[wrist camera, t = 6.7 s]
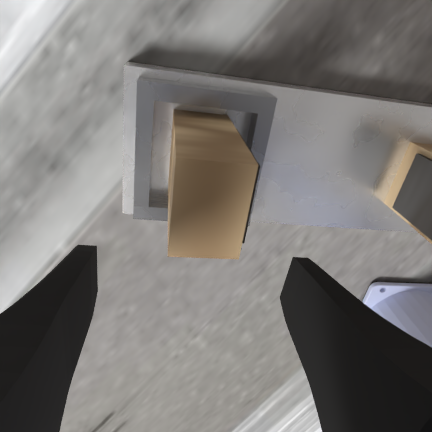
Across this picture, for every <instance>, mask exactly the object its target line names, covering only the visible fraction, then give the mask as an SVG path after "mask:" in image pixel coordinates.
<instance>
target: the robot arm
mask: <svg viewBox="0 0 432 432" xmlns="http://www.w3.org/2000/svg"><path fill="white" fill-rule="evenodd" d="M97 292H98V287H97V246H88V245H77V246H76V247H75V248H74V249H73V250H72V251H71V252H70V253H69V254H68V255H67V256H66V257H65V258H64V259H63V260H62V261H61V262H60V263H59V264H58V265H57V266H56V267H55V268H54V269H53V270H52V271H51V272H50V273H49V274H48V275H47V276H46V277H45V278H44V279H42V280H41V281H40V282H39V283H38V284H37V285H36V286H35V287H34V288H32V289H31V290H30V291H29V292H28V293H26V294H25V295H24V296H23V297H22V298H20V299H19V300H18V301H17V302H15V303H14V304H13V305H12V306H10V307H9V308H8V309H6V310H5V311H4V312H2V313H1V314H0V432H59V430H60V426H61V421H62V417H63V413H64V408H65V404H66V400H67V395H68V391H69V387H70V384H71V380H72V377H73V374H74V371H75V368H76V365H77V362H78V359H79V356H80V353H81V350H82V347H83V344H84V341H85V338H86V335H87V332H88V329H89V326H90V323H91V320H92V316H93V312H94V307H95V302H96V297H97ZM280 300H281V305H282V309H283V313H284V317H285V321H286V324H287V327H288V329H289V332H290V335H291V337H292V340H293V342H294V345H295V347H296V350H297V353H298V355H299V358H300V360H301V363H302V365H303V368H304V370H305V373H306V376H307V378H308V381H309V384H310V387H311V391H312V394H313V398H314V401H315V405H316V409H317V412H318V416H319V420H320V424H321V428H322V432H432V284H418V283H388V282H375V283H372V284H371V285H370V287H369V289H368V291H367V293H366V295H365V297H364V299H363V301H362V302H361V301H360V300H359V299H357V298H356V297H355V296H354V295H352V294H351V293H350V292H349V291H348V290H346V289H345V288H344V287H343V286H341V285H340V284H339V283H338V282H337V281H336V280H334V279H333V278H332V277H331V276H330V275H328V274H327V273H326V272H325V271H324V270H323V269H321V268H320V267H319V266H318V265H316V264H315V263H314V262H313V261H311V260H310V259H309V258H299V257H293V259H292V262H291V265H290V268H289V271H288V274H287V277H286V280H285V283H284V286H283V289H282V292H281V295H280Z"/></svg>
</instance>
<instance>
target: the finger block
mask: <svg viewBox="0 0 432 432" xmlns="http://www.w3.org/2000/svg"><path fill="white" fill-rule="evenodd" d="M259 170H260V165H259V163H258V162H257V160H256V158H255V157H254V155H253V154H252V152H251V150H250V149H249V147H248V146H247V144H246V142H245V141H244V139H243V138H242V136H241V134H240V133H239V131H238V130H237V128H235V126H234V124H233V123H232V121H231V120H230V118H229V116H228V115H222V114H213V113H204V112H196V111H187V110H178V109H173V123H172V137H171V151H170V164H169V178H168V257H193V258H219V259H239V255H240V251H241V246H242V243H244V241H245V236H246V232H247V227H248V222H249V217H250V213H251V208H252V203H253V199H254V194H255V189H256V184H257V180H258V175H259Z"/></svg>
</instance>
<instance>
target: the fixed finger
mask: <svg viewBox="0 0 432 432" xmlns="http://www.w3.org/2000/svg"><path fill="white" fill-rule="evenodd" d="M384 204H386V205H387V206H388V207H389V208H390V209H391V210H393V211H394V212H395V213H396V214H397V215H398V216H400V217H401V218H402V219H403V220H404V221H405V222H407V223H408V224H409V225H410V226H411V227H413V228H414V229H415V230H416V231H417V232H418V233H420V234H421V235H422V236H423V237H424V238H425V239H427V240H428V241H429V242H430V243H431V244H432V144H424V143H415V142H410V143H409V146H408V148H407V150H406V153H405V155H404V157H403V160H402V162H401V164H400V167H399V169H398V171H397V173H396V176H395V178H394V180H393V183H392V185H391V187H390V190H389V192H388V194H387V197H386V199H385V201H384Z"/></svg>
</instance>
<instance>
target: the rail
mask: <svg viewBox="0 0 432 432" xmlns="http://www.w3.org/2000/svg"><path fill="white" fill-rule="evenodd" d="M173 109H178V110H187V111H196V112H204V113H213V114H222V115H228V116H229V118H230V120H231V121H232V123H233V124H234V126H235V128H237V130H238V131H239V133H240V134H241V136H242V138H243V139H244V141H245V142H246V144H247V146H248V147H249V149H250V150H251V152H252V154H253V155H254V157H255V158H256V160H257V162H258V163H259V165H260V170H259V175H258V180H257V184H256V189H255V194H254V199H253V203H252V208H251V213H250V217H249V222H248V226H249V225H250V222H263V223H279V224H294V225H310V226H326V227H341V228H357V229H373V230H388V231H404V232H417V231H416V230H415V229H414V228H413V227H411V226H410V225H409V224H408V223H407V222H405V221H404V220H403V219H402V218H401V217H400V216H398V215H397V214H396V213H395V212H394V211H393V210H391V209H390V208H389V207H388V206H387V205H386V204H384V201H385V199H386V197H387V194H388V192H389V190H390V187H391V185H392V183H393V180H394V178H395V176H396V173H397V171H398V169H399V167H400V164H401V162H402V160H403V157H404V155H405V153H406V150H407V148H408V146H409V143H410V142H415V143H424V144H432V104H427V103H420V102H412V101H405V100H398V99H391V98H384V97H377V96H370V95H362V94H355V93H348V92H341V91H334V90H327V89H320V88H313V87H305V86H298V85H291V84H284V83H277V82H270V81H263V80H255V79H248V78H241V77H234V76H227V75H220V74H213V73H206V72H198V71H191V70H184V69H177V68H170V67H163V66H156V65H148V64H141V63H134V62H126V63H125V64H124V111H123V214H133V219H144V220H160V221H168V178H169V164H170V151H171V137H172V123H173Z"/></svg>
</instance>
